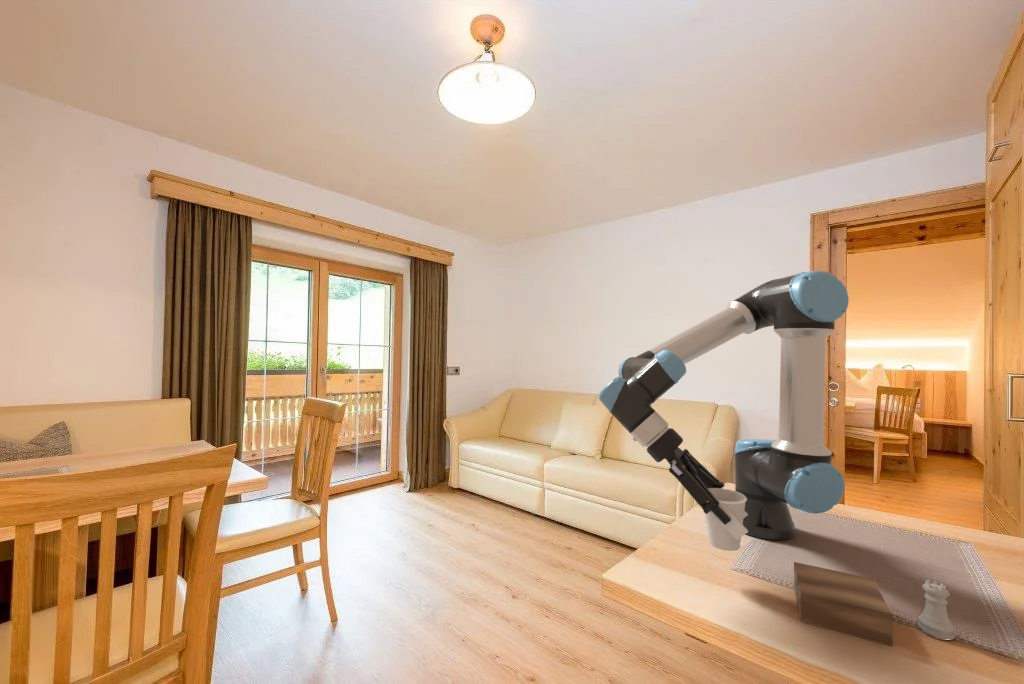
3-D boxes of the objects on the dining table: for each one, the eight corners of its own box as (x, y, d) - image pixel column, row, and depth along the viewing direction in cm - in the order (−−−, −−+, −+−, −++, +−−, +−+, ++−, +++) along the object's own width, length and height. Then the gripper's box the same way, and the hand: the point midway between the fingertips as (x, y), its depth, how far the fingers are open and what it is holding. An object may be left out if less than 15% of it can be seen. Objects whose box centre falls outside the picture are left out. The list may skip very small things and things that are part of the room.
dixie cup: (693, 543, 86) (693, 493, 86) (712, 531, 91) (712, 485, 91) (737, 558, 79) (736, 505, 79) (754, 545, 85) (753, 495, 85)
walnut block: (793, 587, 83) (793, 561, 83) (872, 606, 77) (872, 578, 77) (800, 621, 72) (800, 592, 72) (892, 646, 66) (892, 614, 66)
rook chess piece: (963, 643, 67) (963, 593, 67) (930, 639, 68) (930, 589, 68) (941, 626, 71) (940, 578, 72) (910, 622, 72) (910, 575, 73)
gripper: (654, 439, 102) (729, 518, 94) (634, 459, 84) (725, 560, 76) (677, 419, 100) (756, 498, 92) (661, 435, 81) (759, 536, 73)
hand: (742, 526), depth 84 cm, fingers closed on dixie cup, 8 cm apart
